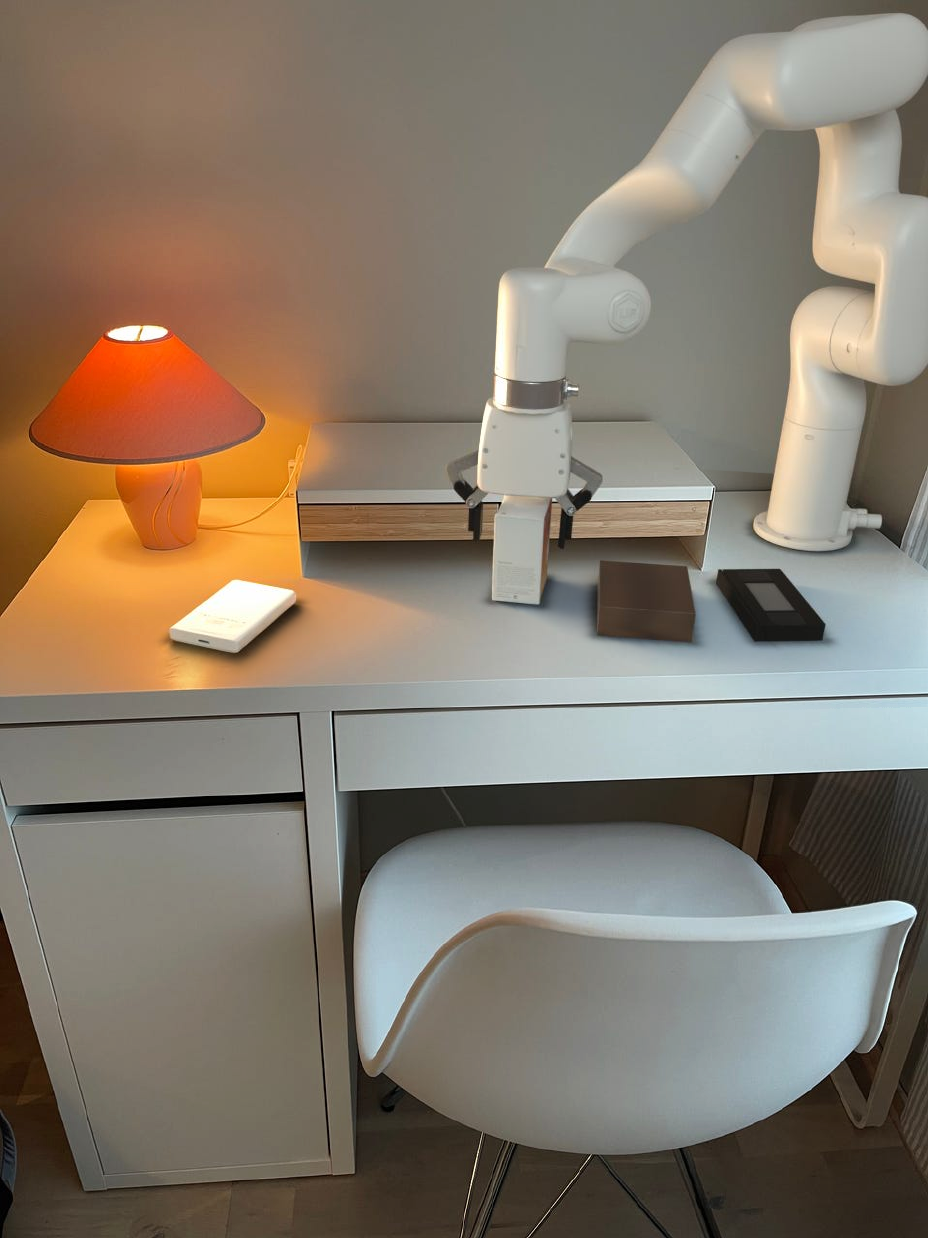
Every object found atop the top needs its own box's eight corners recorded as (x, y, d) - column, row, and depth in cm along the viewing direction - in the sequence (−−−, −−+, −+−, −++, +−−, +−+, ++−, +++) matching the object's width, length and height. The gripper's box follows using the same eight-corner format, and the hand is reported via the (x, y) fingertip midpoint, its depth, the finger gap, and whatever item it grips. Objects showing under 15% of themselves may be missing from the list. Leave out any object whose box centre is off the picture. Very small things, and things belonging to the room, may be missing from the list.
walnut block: (683, 593, 116) (687, 566, 114) (691, 642, 105) (695, 613, 104) (597, 587, 117) (600, 560, 115) (596, 635, 106) (599, 606, 105)
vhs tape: (777, 583, 119) (780, 568, 118) (822, 641, 106) (826, 625, 105) (715, 584, 118) (718, 569, 117) (754, 642, 106) (757, 626, 105)
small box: (539, 606, 112) (544, 520, 107) (490, 601, 113) (493, 515, 108) (548, 577, 119) (553, 494, 114) (502, 572, 120) (505, 490, 115)
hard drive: (296, 603, 112) (238, 654, 101) (233, 591, 114) (169, 639, 104) (296, 590, 111) (236, 640, 100) (232, 578, 113) (168, 626, 103)
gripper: (610, 388, 108) (595, 534, 115) (453, 377, 109) (448, 522, 117) (611, 406, 101) (595, 560, 109) (443, 394, 103) (439, 547, 110)
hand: (519, 540), depth 113 cm, fingers open, 9 cm apart
